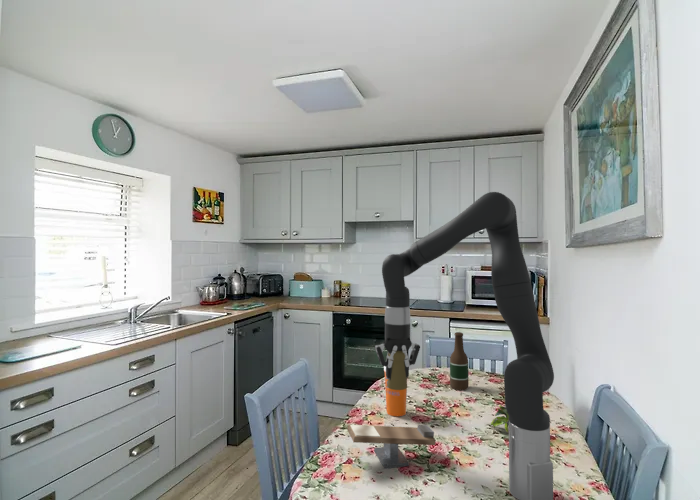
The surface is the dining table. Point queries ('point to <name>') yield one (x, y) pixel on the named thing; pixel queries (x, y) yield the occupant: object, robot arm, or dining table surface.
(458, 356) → the beer bottle
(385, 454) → the pivot stand
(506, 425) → the passion flower
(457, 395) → the dining table surface
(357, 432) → the seesaw board
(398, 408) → the shaker bottle
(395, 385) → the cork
